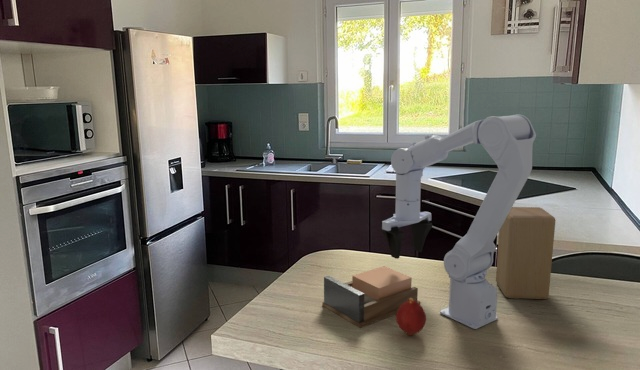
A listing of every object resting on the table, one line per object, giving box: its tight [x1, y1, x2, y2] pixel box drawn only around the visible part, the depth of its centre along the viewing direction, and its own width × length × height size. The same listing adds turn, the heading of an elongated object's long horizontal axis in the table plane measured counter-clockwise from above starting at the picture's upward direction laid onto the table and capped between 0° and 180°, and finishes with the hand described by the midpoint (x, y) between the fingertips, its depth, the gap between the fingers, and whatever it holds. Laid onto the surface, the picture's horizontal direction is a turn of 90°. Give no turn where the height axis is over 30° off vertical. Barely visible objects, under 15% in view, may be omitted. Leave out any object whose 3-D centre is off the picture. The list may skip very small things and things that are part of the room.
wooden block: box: [495, 206, 557, 300], centre depth 117 cm, size 10×10×20 cm
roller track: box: [321, 275, 421, 328], centre depth 112 cm, size 13×18×7 cm
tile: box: [351, 265, 413, 300], centre depth 113 cm, size 9×10×3 cm
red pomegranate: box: [395, 298, 427, 336], centre depth 98 cm, size 6×6×8 cm
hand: (406, 254), depth 118 cm, fingers open, 7 cm apart
